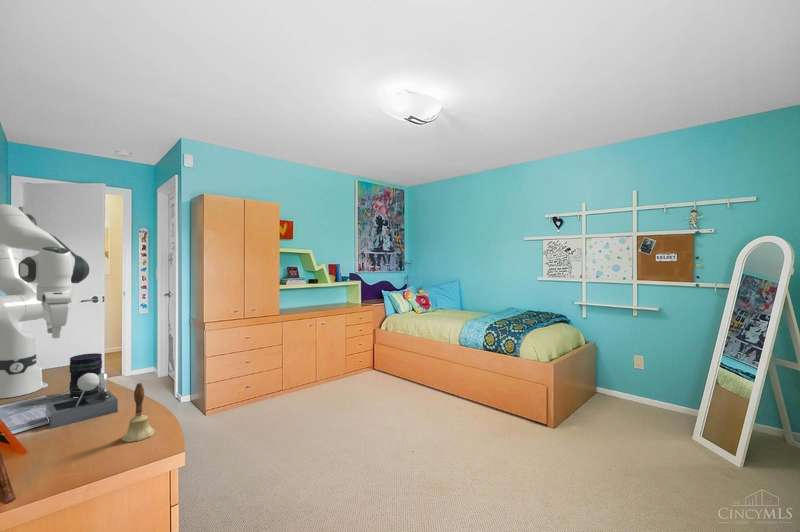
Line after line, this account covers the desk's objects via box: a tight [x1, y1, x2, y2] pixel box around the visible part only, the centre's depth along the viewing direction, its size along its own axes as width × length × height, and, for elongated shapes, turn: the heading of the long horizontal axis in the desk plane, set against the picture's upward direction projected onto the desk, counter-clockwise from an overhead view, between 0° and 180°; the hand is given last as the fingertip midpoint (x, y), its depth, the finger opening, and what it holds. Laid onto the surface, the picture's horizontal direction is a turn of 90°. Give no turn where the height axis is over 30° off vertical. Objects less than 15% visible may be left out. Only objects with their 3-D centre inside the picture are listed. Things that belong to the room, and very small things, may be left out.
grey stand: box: [45, 372, 119, 429], centre depth 126 cm, size 17×12×13 cm
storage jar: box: [68, 352, 103, 398], centre depth 145 cm, size 10×10×15 cm
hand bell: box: [121, 382, 156, 443], centre depth 112 cm, size 8×8×16 cm
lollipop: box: [75, 373, 100, 407], centre depth 125 cm, size 6×6×15 cm
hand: (53, 335), depth 125 cm, fingers open, 8 cm apart
